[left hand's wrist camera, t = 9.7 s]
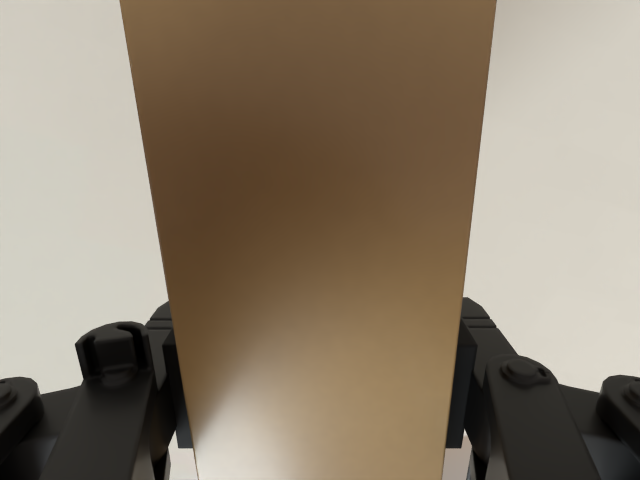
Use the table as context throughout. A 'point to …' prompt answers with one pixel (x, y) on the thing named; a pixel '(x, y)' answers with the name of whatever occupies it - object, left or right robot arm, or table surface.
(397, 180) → the beam
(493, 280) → the table surface
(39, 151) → the table surface
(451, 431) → the left robot arm
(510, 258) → the table surface
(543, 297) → the table surface
